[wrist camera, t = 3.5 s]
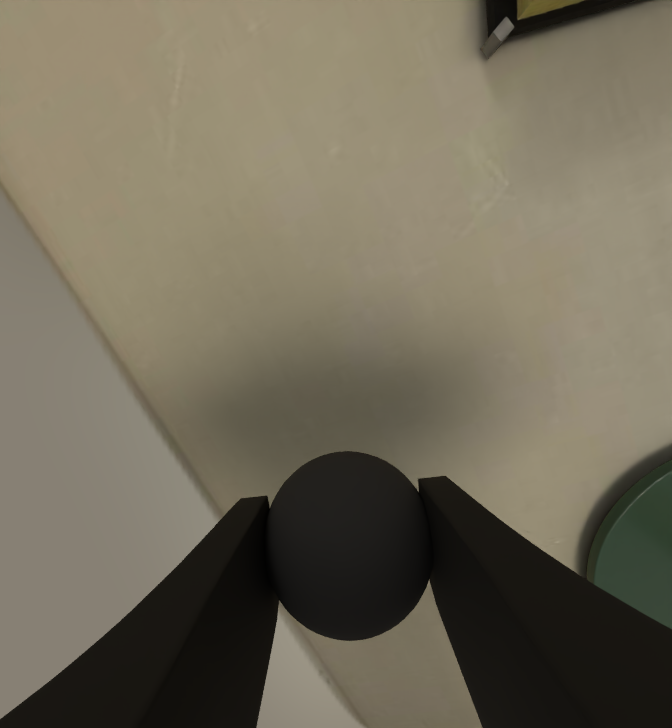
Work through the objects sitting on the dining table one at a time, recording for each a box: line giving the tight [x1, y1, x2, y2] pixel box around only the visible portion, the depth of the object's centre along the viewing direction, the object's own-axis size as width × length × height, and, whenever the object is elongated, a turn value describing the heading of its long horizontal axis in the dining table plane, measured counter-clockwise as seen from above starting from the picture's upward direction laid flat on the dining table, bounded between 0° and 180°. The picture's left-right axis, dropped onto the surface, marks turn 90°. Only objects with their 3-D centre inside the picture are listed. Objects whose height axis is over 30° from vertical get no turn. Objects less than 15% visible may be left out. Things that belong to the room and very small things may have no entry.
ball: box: [265, 451, 433, 641], centre depth 8 cm, size 4×4×4 cm
